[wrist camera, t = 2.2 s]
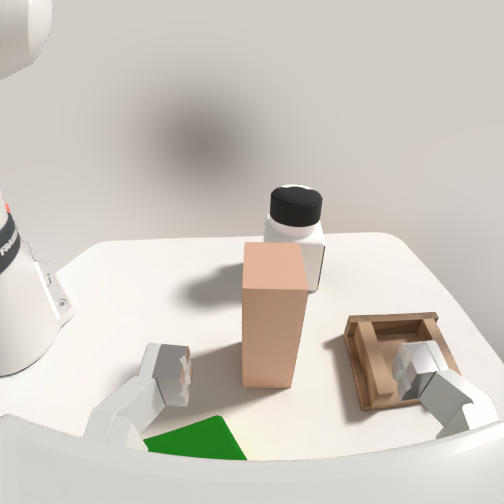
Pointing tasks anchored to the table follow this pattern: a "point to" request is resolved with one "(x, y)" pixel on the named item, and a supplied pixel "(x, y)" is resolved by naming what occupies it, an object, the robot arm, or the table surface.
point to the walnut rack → (387, 352)
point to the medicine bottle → (298, 226)
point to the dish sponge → (198, 441)
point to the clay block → (272, 313)
